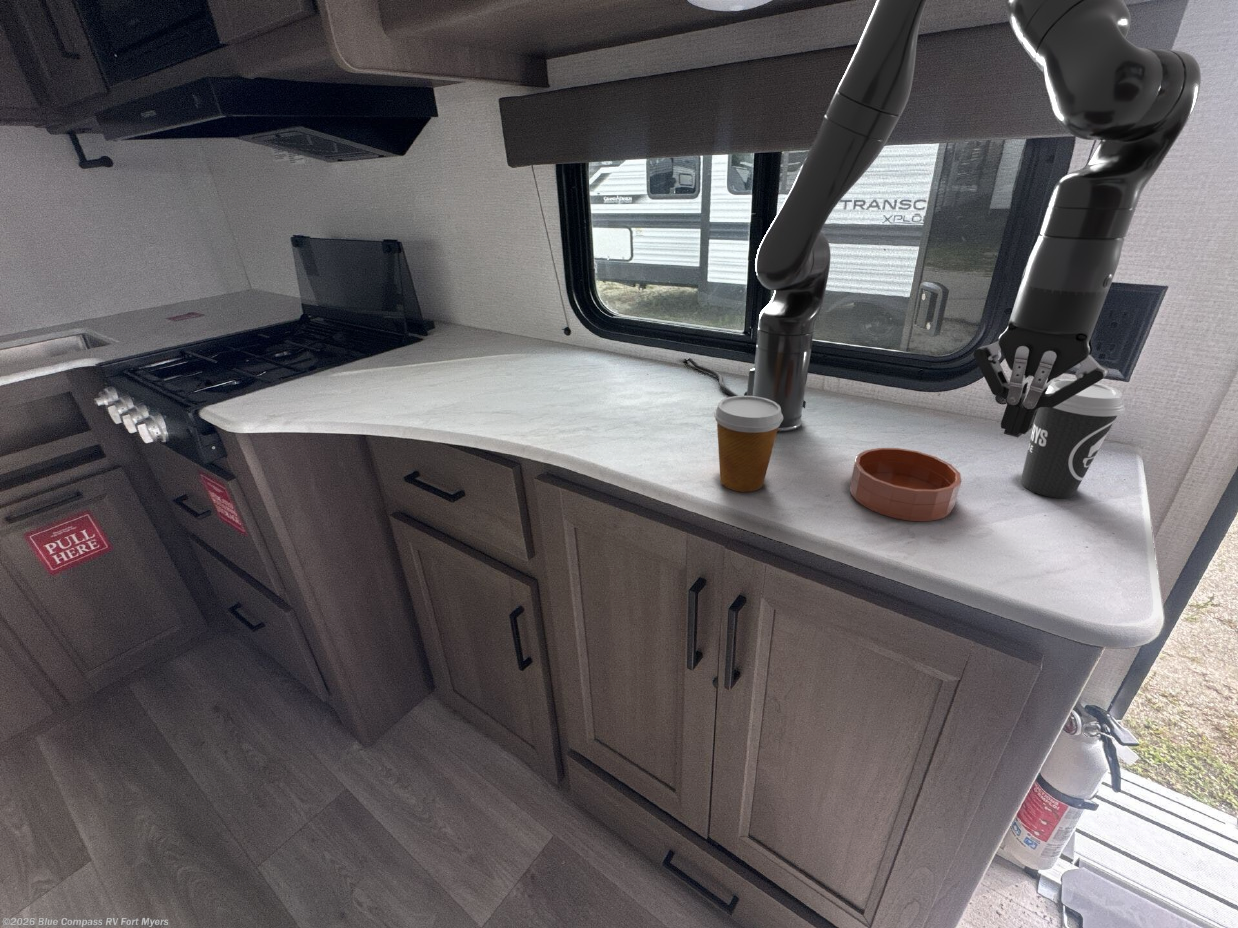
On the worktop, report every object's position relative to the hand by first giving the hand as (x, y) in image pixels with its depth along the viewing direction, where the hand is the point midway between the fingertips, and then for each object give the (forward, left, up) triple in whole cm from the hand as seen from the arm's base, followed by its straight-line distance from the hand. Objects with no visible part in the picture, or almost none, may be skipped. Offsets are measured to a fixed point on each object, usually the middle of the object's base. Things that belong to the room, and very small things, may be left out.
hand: (1012, 434), depth 67 cm
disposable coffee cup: (-28, -13, -13) cm, 34 cm away
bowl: (-11, 0, -13) cm, 17 cm away
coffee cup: (+3, +18, -13) cm, 22 cm away
